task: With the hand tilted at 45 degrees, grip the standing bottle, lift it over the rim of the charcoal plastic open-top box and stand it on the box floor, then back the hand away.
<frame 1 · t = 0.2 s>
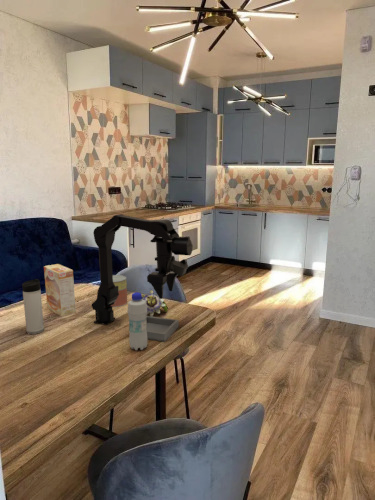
hand: (166, 294, 143), 15 cm above the table, tool pointing down, fingers open, 9 cm apart
travel mug: (35, 331, 146), on the table
bottle: (138, 348, 132), on the table
coffeecake box: (61, 310, 168), on the table
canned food: (115, 303, 177), on the table
passion flower: (153, 313, 164), on the table
open box: (155, 331, 145), on the table
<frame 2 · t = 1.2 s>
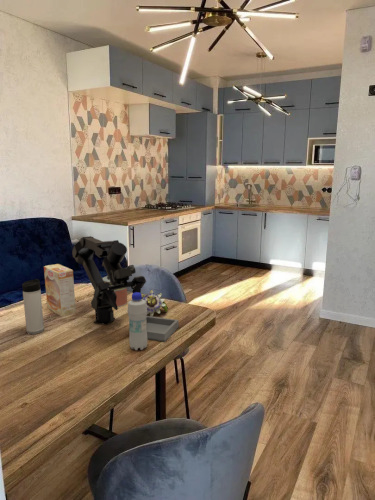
hand: (128, 306, 135), 13 cm above the table, tool tilted 45°, fingers open, 9 cm apart
nothing on the table moved.
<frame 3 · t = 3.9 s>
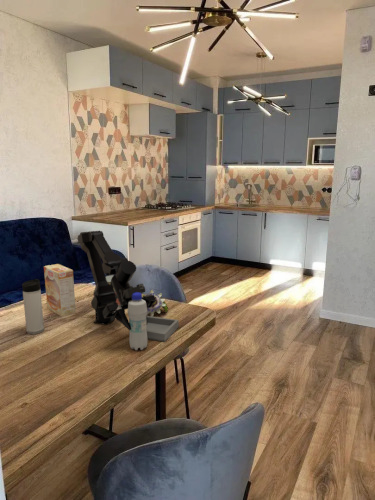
hand: (138, 327, 130), 8 cm above the table, tool tilted 45°, fingers closed on bottle, 6 cm apart
bottle: (138, 348, 132), on the table, touching gripper
everything else where it was.
when the fingers open (9 cm above the table, at t = 7.8 s): bottle stays where it is, resting on open box.
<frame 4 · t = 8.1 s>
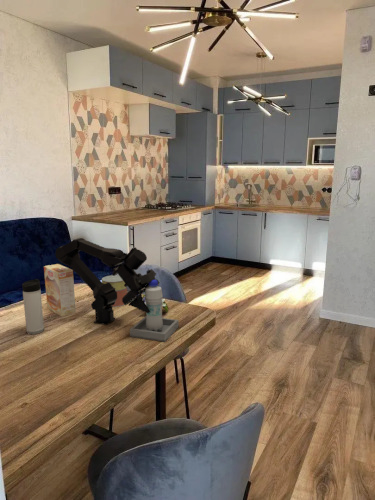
hand: (155, 308, 143), 9 cm above the table, tool tilted 45°, fingers open, 8 cm apart
bottle: (154, 330, 145), resting on open box
everything else where it was.
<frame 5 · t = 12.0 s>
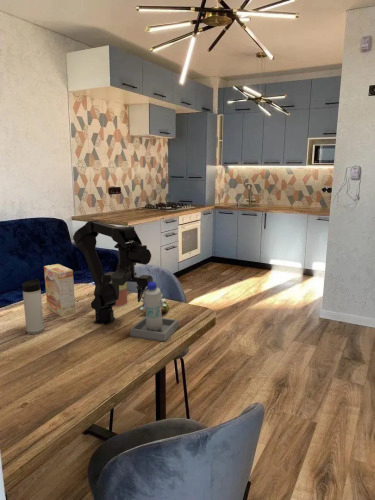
hand: (128, 300, 144), 12 cm above the table, tool pointing down, fingers open, 9 cm apart
bottle: (154, 329, 145), point 1 cm above the table, touching gripper, open box
everything else where it was.
at the end: bottle inside the target area on the open box (0.2 cm from its centre), point 1.0 cm above the open box's base; bottle tilted 11°; the gripper is holding nothing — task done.
